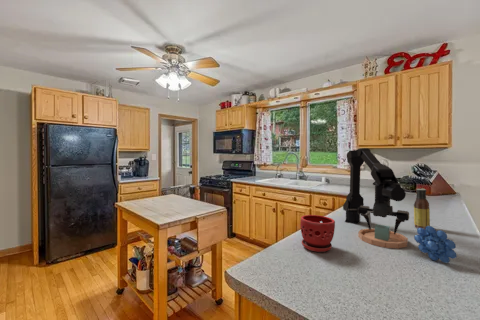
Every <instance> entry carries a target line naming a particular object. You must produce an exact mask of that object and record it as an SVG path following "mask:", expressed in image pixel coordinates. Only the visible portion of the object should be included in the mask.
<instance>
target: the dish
mask: <svg viewBox="0 0 480 320" xmlns="http://www.w3.org/2000/svg"><path fill="white" fill-rule="evenodd" d="M357 234H358V235H357V237H358V239H360V240H361V241H362V242H365V243H367V244H369V245H372V246H377V247H381V248H386V249H387V248H388V249H403V248H408V244H409V238H408V237H407V236H405V235H403V234H401V233H399V232H396V234H394V230H393V231H392V230H390V238H389V240H388V241H386V240H381V239H376V238H375V228H371V230H369V228H361V229H359V231H358V233H357Z"/></svg>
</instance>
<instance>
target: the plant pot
mask: <svg viewBox="0 0 480 320" xmlns="http://www.w3.org/2000/svg"><path fill="white" fill-rule="evenodd" d="M335 230H336V221H335V220H334V219H333V218H331V217H329V216H324V215H320V214H319V215H316V214H306V215H302V216H301V217H300V232H301V237H302V240H301V244H302V246H303V247H304V248H305V249H307V250H309V251H312V252H318V253H324V252H328V251H330V250H331V249H332V247H333V244H332V241H333V239H334V235H335Z"/></svg>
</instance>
